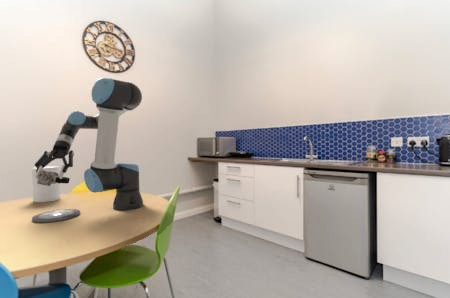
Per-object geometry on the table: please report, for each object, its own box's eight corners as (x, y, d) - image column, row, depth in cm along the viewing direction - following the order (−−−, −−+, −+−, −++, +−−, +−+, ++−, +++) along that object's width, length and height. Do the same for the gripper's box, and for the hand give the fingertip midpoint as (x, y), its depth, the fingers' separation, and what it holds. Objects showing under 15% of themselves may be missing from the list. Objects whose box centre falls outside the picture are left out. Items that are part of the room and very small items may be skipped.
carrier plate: (88, 211, 130) (88, 208, 130) (60, 223, 111) (60, 220, 111) (54, 210, 132) (54, 208, 132) (20, 222, 114) (20, 219, 114)
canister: (65, 197, 164) (64, 166, 164) (46, 202, 151) (44, 168, 150) (48, 196, 167) (46, 166, 167) (27, 201, 154) (26, 168, 154)
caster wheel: (71, 187, 134) (58, 188, 124) (50, 183, 134) (36, 183, 124) (74, 174, 135) (62, 174, 125) (53, 170, 135) (39, 169, 125)
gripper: (87, 148, 144) (75, 181, 129) (43, 150, 141) (27, 183, 126) (82, 139, 139) (70, 171, 124) (37, 140, 136) (19, 173, 121)
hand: (48, 177), depth 125 cm, fingers closed on caster wheel, 10 cm apart
